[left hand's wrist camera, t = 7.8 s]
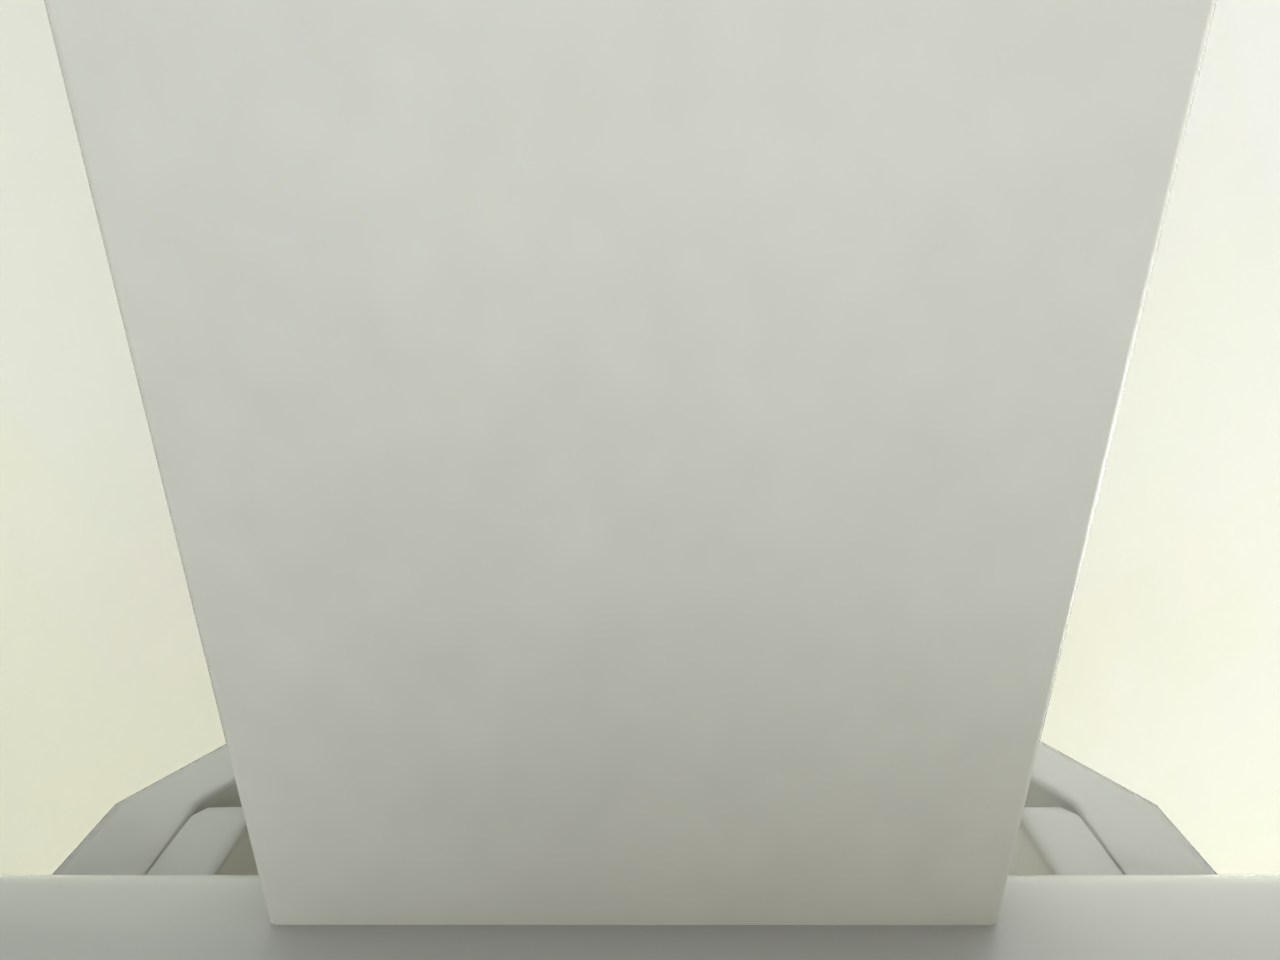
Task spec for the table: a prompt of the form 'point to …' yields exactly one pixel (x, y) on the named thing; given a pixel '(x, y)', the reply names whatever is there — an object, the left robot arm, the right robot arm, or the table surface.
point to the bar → (631, 426)
